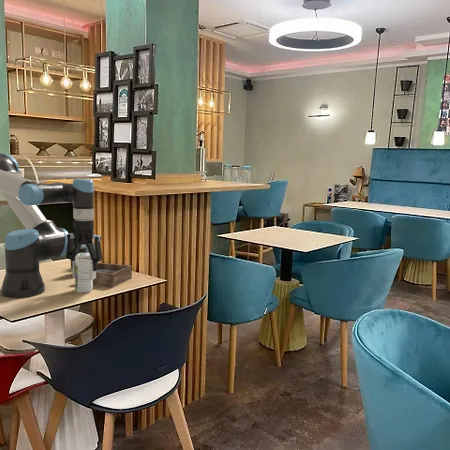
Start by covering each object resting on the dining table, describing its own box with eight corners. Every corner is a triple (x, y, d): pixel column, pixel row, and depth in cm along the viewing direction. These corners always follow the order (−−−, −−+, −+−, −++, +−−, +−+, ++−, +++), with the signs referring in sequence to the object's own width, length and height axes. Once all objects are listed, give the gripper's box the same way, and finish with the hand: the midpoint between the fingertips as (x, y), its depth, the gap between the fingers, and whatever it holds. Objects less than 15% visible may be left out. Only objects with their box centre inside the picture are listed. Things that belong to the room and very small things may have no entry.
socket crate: (78, 283, 186) (78, 270, 185) (99, 274, 201) (99, 262, 200) (113, 287, 181) (113, 274, 181) (131, 278, 197) (131, 265, 196)
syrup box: (78, 288, 178) (77, 252, 176) (93, 288, 179) (93, 252, 177) (75, 292, 173) (74, 255, 171) (90, 292, 173) (90, 255, 171)
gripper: (54, 218, 171) (56, 277, 174) (101, 222, 166) (102, 282, 169) (66, 216, 178) (67, 273, 181) (112, 220, 173) (112, 278, 176)
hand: (84, 277), depth 175 cm, fingers closed on syrup box, 7 cm apart
